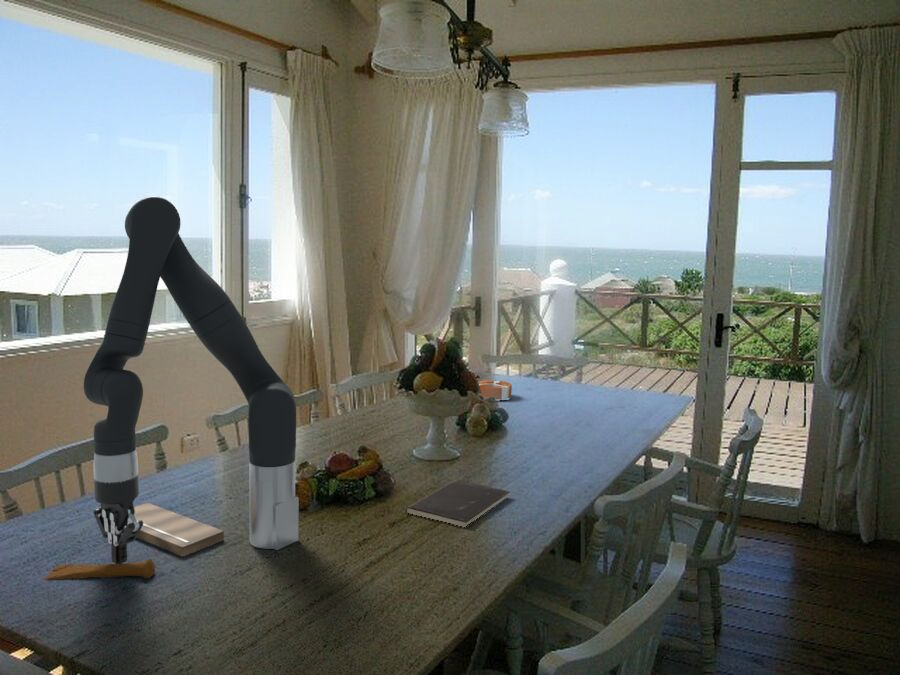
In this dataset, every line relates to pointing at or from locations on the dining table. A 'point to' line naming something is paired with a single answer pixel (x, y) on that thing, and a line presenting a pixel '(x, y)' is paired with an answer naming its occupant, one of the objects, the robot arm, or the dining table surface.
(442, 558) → the dining table surface
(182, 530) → the pale wooden board
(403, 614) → the dining table surface
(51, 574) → the primitive tool
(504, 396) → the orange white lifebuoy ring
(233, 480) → the dining table surface
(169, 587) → the dining table surface
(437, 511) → the hardcover book
